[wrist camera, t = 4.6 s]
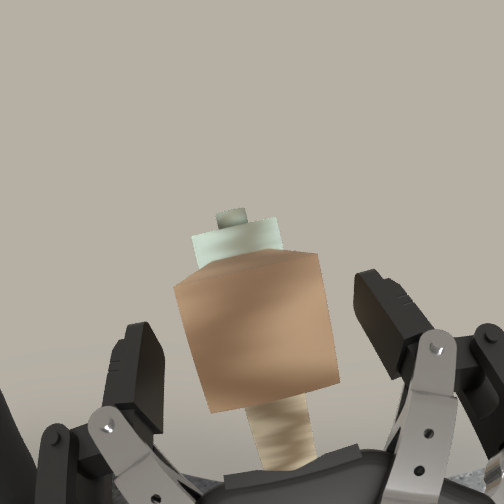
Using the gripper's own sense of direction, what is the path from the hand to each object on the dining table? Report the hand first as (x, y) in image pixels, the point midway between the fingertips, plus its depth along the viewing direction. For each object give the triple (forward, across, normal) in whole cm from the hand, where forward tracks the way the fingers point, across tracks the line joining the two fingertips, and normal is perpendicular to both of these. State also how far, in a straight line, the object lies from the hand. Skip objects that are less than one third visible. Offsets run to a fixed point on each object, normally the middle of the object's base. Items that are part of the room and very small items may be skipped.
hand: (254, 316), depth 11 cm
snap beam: (+4, 0, +5) cm, 6 cm away
